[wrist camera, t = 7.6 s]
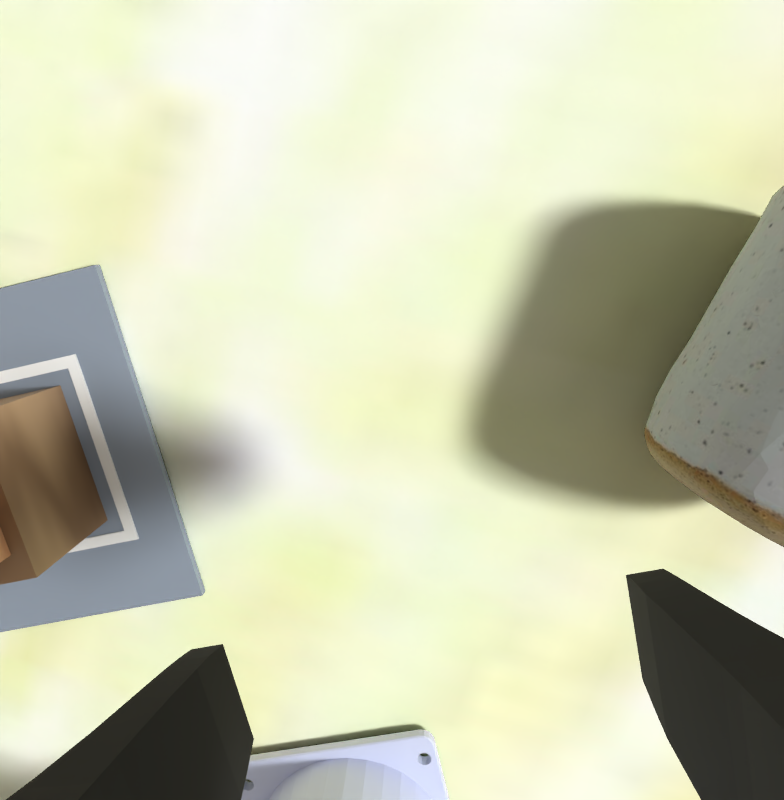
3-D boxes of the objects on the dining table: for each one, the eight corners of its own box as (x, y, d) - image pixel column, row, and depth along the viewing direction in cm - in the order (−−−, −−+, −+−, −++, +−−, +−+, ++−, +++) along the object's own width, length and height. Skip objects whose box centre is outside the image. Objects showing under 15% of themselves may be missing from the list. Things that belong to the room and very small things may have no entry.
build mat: (205, 591, 22) (201, 596, 22) (-39, 635, 23) (-47, 641, 23) (99, 264, 20) (94, 265, 19) (-169, 331, 21) (-179, 332, 20)
